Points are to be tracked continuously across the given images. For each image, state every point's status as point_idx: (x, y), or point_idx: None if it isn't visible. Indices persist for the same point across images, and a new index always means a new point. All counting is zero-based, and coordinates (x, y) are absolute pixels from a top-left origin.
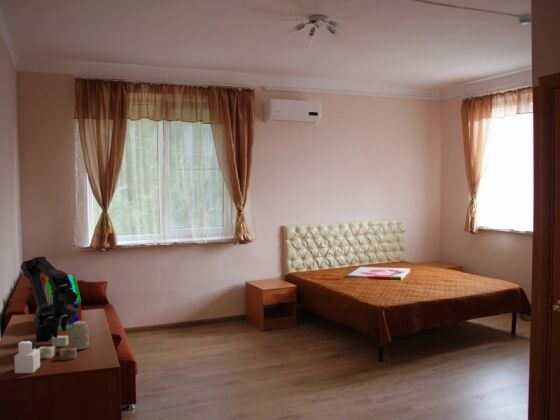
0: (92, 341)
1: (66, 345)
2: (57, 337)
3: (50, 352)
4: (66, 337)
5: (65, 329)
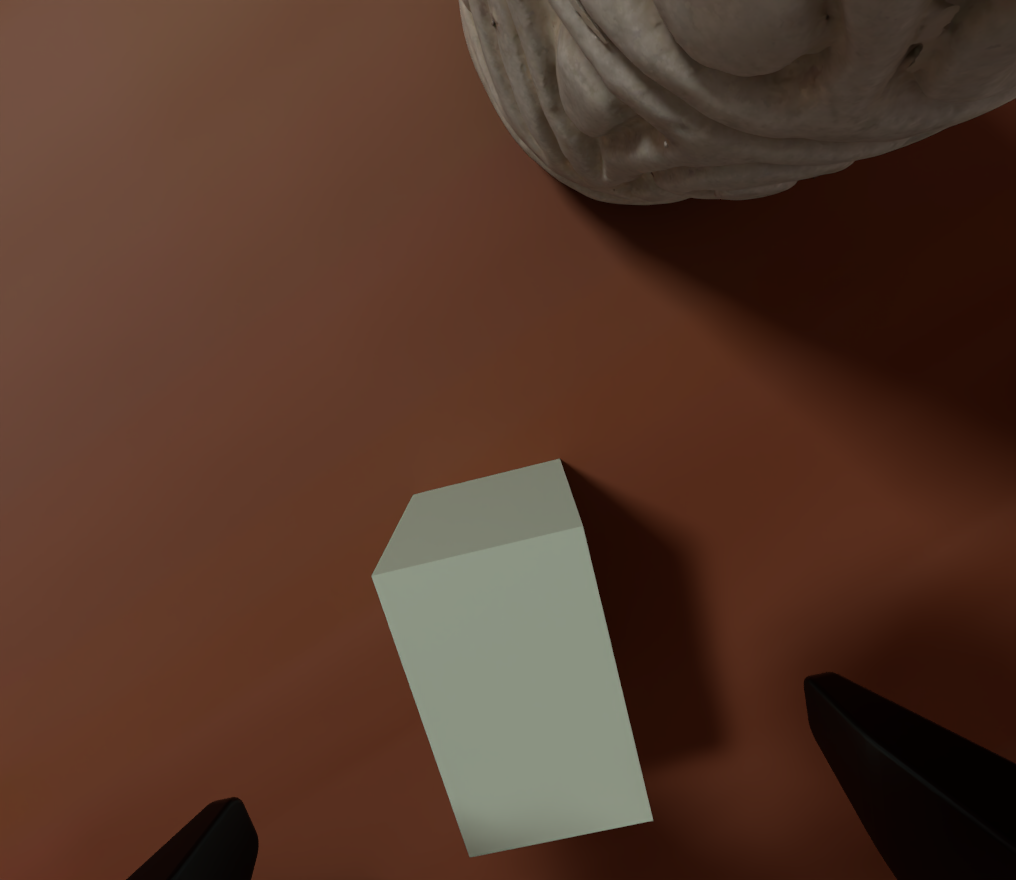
0: (114, 62)
1: (519, 469)
2: (583, 736)
3: None
4: (511, 538)
5: (189, 842)
